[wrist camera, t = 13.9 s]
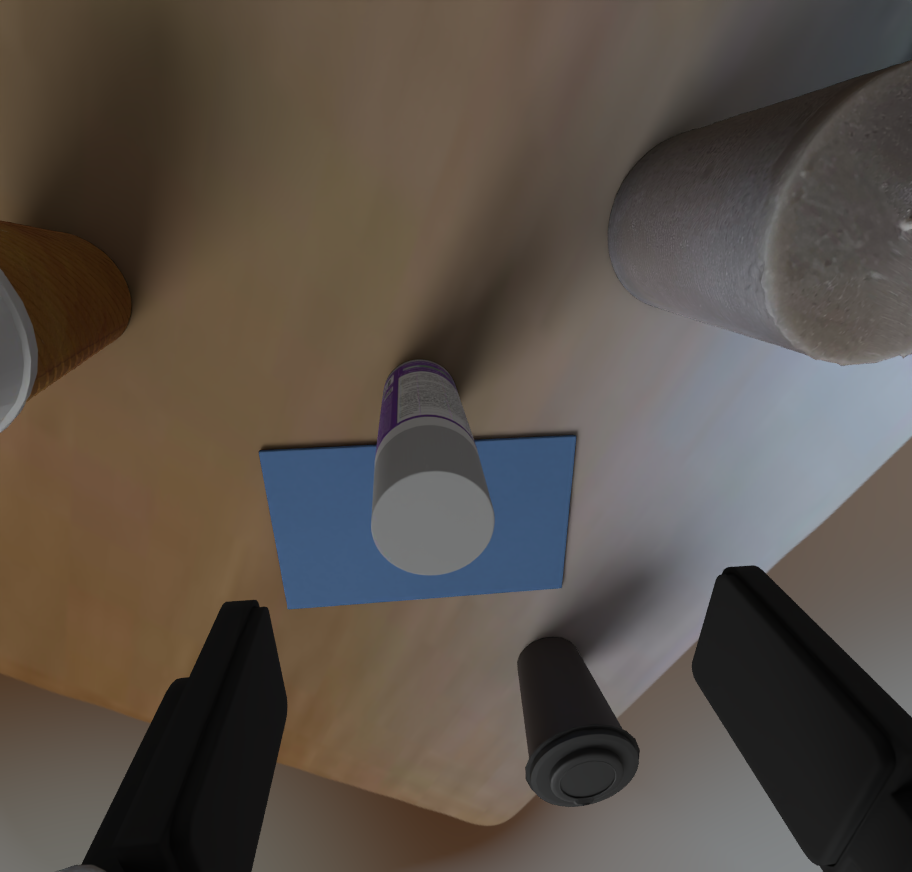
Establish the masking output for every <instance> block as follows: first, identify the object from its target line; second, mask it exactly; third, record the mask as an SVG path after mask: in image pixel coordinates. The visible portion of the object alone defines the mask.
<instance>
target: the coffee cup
mask: <svg viewBox="0 0 912 872" xmlns="http://www.w3.org/2000/svg"><path fill="white" fill-rule="evenodd" d="M517 665H518V676H519V683H520V691H521V699H522V707H523V714H524V722H525V730H526V738H527V745H528V753H529V760H528V763H527V765H526V767H525V770H526V781H527V782H528V784H529V786H530V788H531V789H532V790H533V791H534V792H535V793H536V794H537V795H538V796H539V797H540V798H541V799H543V800H544V801H546V802H548V803H551V804H554V805H558V806H566V807H575V806H584V805H589V804H593V803H596V802H599V801H602V800H604V799H607V798H609V797H610V796H613V795H614V794H616V793H617V792H619V791H620V790H622V789H623V788H624V787H625V786H626V785H627V784H628V783H629V782H630V781H631V780H632V778H633V777H634V775H635V773H636V771H637V768H638V764H639V752H640V750H639V747H638V745H637V742H636V740H635V738H633V737H632V736H631V735H630V734H629V733H628V732H627V731H625V730H623V729H622V727H621V726H620V724H619V722H618V720H617V719H616V717H615V715H614V713H613V712H612V710H611V708H610V706H609V705H608V703H607V701H606V699H605V698H604V696H603V694H602V692H601V691H600V689H599V687H598V685H597V684H596V682H595V680H594V678H593V677H592V675H591V673H590V671H589V670H588V668H587V666H586V664H585V663H584V661H583V659H582V657H581V656H580V654H579V652H578V650H577V649H576V647H575V646H574V645H573V644H572V643H571V642H570V641H568V640H565V639H563V638H557V637H550V638H543V639H540V640H538V641H535V642H533V643H531V644H530V645H529V646H527V647H526V648H525V649H524V650H523V651H522V653H521V654H520V656H519V659H518V661H517Z"/></svg>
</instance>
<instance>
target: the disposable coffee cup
mask: <svg viewBox="0 0 912 872" xmlns="http://www.w3.org/2000/svg"><path fill="white" fill-rule="evenodd" d="M130 315H131V296H130V293H129V289H128V286H127V283H126V281H125V279H124V277H123V275H122V273H121V272H120V271H119V269H118V268H117V267H116V265H115V264H114V263H113V261H112V260H111V259H110V258H109V257H108V256H107V255H106V254H105V253H104V252H103V251H101V250H100V249H98V248H97V247H96V246H94V245H93V244H91V243H90V242H88V241H86V240H84V239H82V238H80V237H78V236H75V235H72V234H69V233H64V232H57V231H52V230H46V229H41V228H36V227H31V226H25V225H21V224H15V223H11V222H5V221H0V432H2V431H3V430H5V429H6V428H7V427H8V426H9V425H10V424H11V422H12V421H13V420H14V419H15V418H16V417H17V415H18V414H19V413H20V412H21V411H22V409H23V407H24V405H25V403H26V402H27V401H29V400H30V399H31V398H32V397H33V396H36V395H37V394H38V393H39V392H41V391H42V390H45V389H46V388H47V387H48V386H49V385H51V384H53V383H54V382H55V381H57V380H58V379H60V378H61V377H62V376H64V375H66V374H67V373H68V372H70V371H71V370H73V369H75V368H76V367H77V366H79V365H80V364H82V363H83V362H84V361H86V360H87V359H88V358H90V357H92V356H93V355H94V354H96V353H97V352H99V351H100V350H102V349H103V348H104V347H106V346H107V345H109V344H110V343H112V342H114V341H115V340H116V339H117V338H118V337H120V336H121V335H122V333H123V332H124V330H125V329H126V327H127V325H128V322H129V319H130Z"/></svg>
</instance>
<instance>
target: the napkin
mask: <svg viewBox="0 0 912 872" xmlns="http://www.w3.org/2000/svg"><path fill="white" fill-rule="evenodd" d="M474 442H475V445H476V447H477V451H478V455H479V459H480V462H481V466H482V470H483V473H484V477H485V480H486V484H487V488H488V491H489V495H490V499H491V502H492V506H493V510H494V516H495V524H494V530H493V534H492V537H491V539H490V541H489V543H488V545H487V547H486V548H485V549H484V551H483V552H482V553H481V554H480V555H479V556H478V557H477V558H476V559H475V560H474V561H472V562H471V563H470V564H468V565H466V566H465V567H463V568H461V569H459V570H456V571H453V572H450V573H446V574H441V575H419V574H414V573H410V572H407V571H405V570H402V569H400V568H398V567H396V566H395V565H393V564H392V563H390V562H389V561H388V560H387V559H386V558H385V557H384V556H383V555H382V554H381V553H380V551H379V550H378V548H377V546H376V544H375V542H374V539H373V536H372V531H371V517H372V501H373V485H374V469H375V455H376V447H377V445H358V446H338V447H317V448H297V449H276V450H260V451H259V456H260V462H261V467H262V472H263V478H264V483H265V489H266V494H267V499H268V505H269V510H270V515H271V521H272V526H273V532H274V537H275V542H276V548H277V553H278V558H279V564H280V569H281V575H282V580H283V585H284V591H285V596H286V601H287V607H288V609H299V608H312V607H325V606H338V605H351V604H364V603H376V602H389V601H402V600H415V599H428V598H441V597H454V596H466V595H479V594H492V593H505V592H518V591H531V590H544V589H556V588H562V579H563V568H564V558H565V548H566V537H567V527H568V517H569V506H570V496H571V486H572V475H573V465H574V455H575V444H576V436H575V435H563V436H542V437H522V438H502V439H481V440H474Z"/></svg>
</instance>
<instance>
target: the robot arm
mask: <svg viewBox="0 0 912 872" xmlns="http://www.w3.org/2000/svg"><path fill="white" fill-rule="evenodd" d="M692 672H693V675H694V678H695V680H696V682H697V684H698V685H699V687H700V689H701V690H702V692H703V693H704V695H705V697H706V698H707V700H708V701H709V703H710V705H711V706H712V708H713V709H714V711H715V712H716V714H717V715H718V717H719V719H720V720H721V722H722V724H723V725H724V727H725V728H726V729H727V731H728V733H729V735H730V736H731V738H732V739H733V741H734V743H735V744H736V746H737V747H738V749H739V751H740V752H741V754H742V755H743V757H744V758H745V760H746V762H747V763H748V765H749V766H750V768H751V769H752V771H753V773H754V774H755V776H756V777H757V779H758V781H759V782H760V784H761V785H762V787H763V789H764V790H765V792H766V793H767V795H768V796H769V798H770V799H771V801H772V803H773V804H774V806H775V808H776V809H777V811H778V812H779V814H780V815H781V817H782V819H783V820H784V822H785V823H786V825H787V826H788V828H789V830H790V831H791V833H792V835H793V836H794V837H795V839H796V841H797V842H798V844H799V846H800V847H801V849H802V850H803V852H804V853H805V855H806V856H807V857H808V859H810V861H811V862H812V863H814V864H816V865H819V866H820V867H821V869H822V870H823V872H912V717H911V716H910V715H909V714H907V712H906V711H905V710H904V709H903V708H901V706H899V705H898V703H897V702H895V701H894V700H893V699H892V698H891V697H890V696H889V695H888V694H887V693H886V692H885V691H884V690H883V689H882V688H881V687H880V686H879V685H878V684H877V683H876V682H875V681H874V680H873V679H872V678H871V677H870V676H869V675H868V674H867V673H866V672H865V671H864V670H863V669H862V668H861V667H860V666H859V665H858V664H857V663H856V662H855V661H854V660H853V659H852V658H851V657H850V656H849V655H848V654H847V653H846V652H845V651H844V650H843V649H842V648H841V647H840V646H839V645H838V644H837V643H836V642H835V641H834V640H833V639H832V638H831V637H830V636H828V635H827V634H826V632H824V631H823V630H822V629H821V628H820V627H819V626H818V625H817V624H816V623H815V622H814V621H813V620H812V619H811V618H810V617H809V616H808V615H807V614H806V613H805V612H804V611H803V610H802V609H801V608H800V607H799V606H798V605H797V604H796V603H795V602H794V601H793V600H792V599H791V598H790V597H789V596H788V595H787V594H786V593H785V592H784V591H783V590H782V589H781V588H780V587H779V586H778V585H777V584H776V583H775V582H774V581H773V580H772V579H771V578H770V577H769V576H768V575H767V574H766V573H765V572H764V571H763V570H761V569H760V568H759V567H757V566H739V567H728V568H726V569H724V571H723V573H722V575H719V576H718V577H717V579H716V581H715V585H714V588H713V592H712V595H711V599H710V602H709V606H708V609H707V613H706V616H705V620H704V623H703V627H702V630H701V633H700V637H699V640H698V644H697V647H696V651H695V655H694V658H693V661H692ZM286 717H287V696H286V692H285V687H284V682H283V677H282V672H281V667H280V663H279V658H278V653H277V648H276V643H275V638H274V634H273V629H272V624H271V619H270V614H269V610H268V608H267V607H259V603H258V602H257V600H246V601H232V602H225V603H224V604H223V605H222V607H221V609H220V611H219V613H218V615H217V618H216V620H215V622H214V624H213V626H212V629H211V631H210V633H209V635H208V637H207V640H206V642H205V644H204V646H203V648H202V650H201V653H200V655H199V657H198V659H197V661H196V664H195V666H194V668H193V670H192V672H191V674H190V677H188V678H179V679H176V680H175V681H174V682H173V683H172V684H171V685H170V687H169V689H168V690H167V692H166V694H165V696H164V698H163V700H162V702H161V704H160V706H159V708H158V710H157V712H156V714H155V716H154V718H153V720H152V722H151V724H150V726H149V728H148V730H147V732H146V734H145V736H144V738H143V741H142V742H141V744H140V747H139V748H138V750H137V753H136V755H135V757H134V759H133V761H132V763H131V765H130V767H129V769H128V771H127V773H126V775H125V777H124V779H123V781H122V783H121V785H120V787H119V789H118V791H117V794H116V795H115V797H114V799H113V802H112V803H111V805H110V807H109V810H108V812H107V814H106V816H105V818H104V820H103V822H102V824H101V826H100V828H99V830H98V832H97V834H96V836H95V838H94V840H93V842H92V844H91V846H90V848H89V850H88V852H87V854H86V856H85V858H84V860H83V862H82V864H81V865H74V866H71V867H68V868H65V869H62V870H59V871H56V872H251V871H252V866H253V862H254V858H255V853H256V849H257V845H258V840H259V835H260V831H261V827H262V823H263V818H264V814H265V809H266V805H267V801H268V796H269V792H270V788H271V783H272V779H273V774H274V770H275V765H276V761H277V757H278V752H279V748H280V744H281V739H282V735H283V731H284V726H285V722H286Z"/></svg>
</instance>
